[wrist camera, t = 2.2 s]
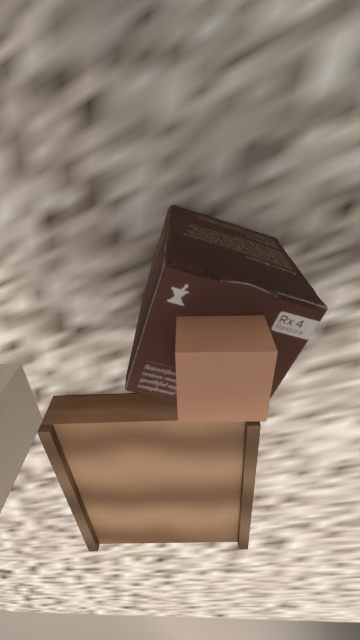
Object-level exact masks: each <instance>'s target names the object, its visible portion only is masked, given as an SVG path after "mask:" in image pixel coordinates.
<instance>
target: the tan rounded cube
mask: <svg viewBox="0 0 360 640" xmlns="http://www.w3.org/2000/svg"><path fill="white" fill-rule="evenodd" d="M277 354H278V351H277V348H276V345H275V343H274V340H273V337H272V335H271V332H270V330H269V327H268V324H267V322H266V319H265V316H264V315H253V316H181V317H176V343H175V362H176V387H177V412H178V422H228V421H266V418H267V412H268V407H269V401H270V395H271V389H272V383H273V377H274V371H275V365H276V359H277Z"/></svg>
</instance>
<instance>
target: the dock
mask: <svg viewBox="0 0 360 640" xmlns="http://www.w3.org/2000/svg"><path fill="white" fill-rule="evenodd" d="M37 433H38V435H39V437H40V440H41V442H42V444H43V447H44V449H45V451H46V453H47V456H48V458H49V460H50V463H51V465H52V467H53V469H54V472H55V474H56V476H57V479H58V481H59V483H60V486H61V488H62V490H63V492H64V495H65V497H66V499H67V502H68V504H69V506H70V508H71V511H72V513H73V515H74V518H75V520H76V522H77V524H78V527H79V529H80V531H81V534H82V536H83V538H84V541H85V543H86V545H87V547H88V550H89V551H98V549H99V544H114V543H183V542H238V549H248V542H249V532H250V523H251V513H252V503H253V494H254V484H255V474H256V465H257V455H258V445H259V435H260V421H228V422H178V412H177V402H176V401H172V400H168V399H163V398H159V397H154V396H150V395H146V394H141V393H138V394H109V395H79V396H53V399H52V401H51V403H50V405H49V407H48V410H47V412H46V414H45V416H44V418H43V421H42V423H41V425H40V427H39V429H38V432H37Z"/></svg>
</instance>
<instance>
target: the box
mask: <svg viewBox="0 0 360 640" xmlns="http://www.w3.org/2000/svg"><path fill="white" fill-rule="evenodd" d="M326 311H327V306H326V305H325V304H324V303H323V302H322V301H321V300H320V298H319V297H318V296H317V294H316V293H315V291H314V290H313V288H312V287H311V286H310V284H309V283H308V282H307V280H306V279H305V278H304V276H303V275H302V273H301V272H300V271H299V269H298V268H297V267H296V265H295V264H294V262H293V261H292V260H291V258H290V257H289V256H288V255H287V253H286V252H285V250H284V249H283V248H282V246H281V245H280V243H279V242H278V240H277V239H275V238H273V237H269V236H266V235H263V234H260V233H257V232H254V231H251V230H248V229H245V228H242V227H239V226H236V225H232V224H230V223H227V222H223V221H220V220H217V219H214V218H211V217H207V216H205V215H202V214H198V213H195V212H192V211H189V210H186V209H183V208H179V207H176V206H171V207H170V208H169V210H168V213H167V216H166V219H165V223H164V226H163V229H162V232H161V236H160V239H159V243H158V246H157V249H156V253H155V256H154V260H153V263H152V267H151V270H150V274H149V277H148V281H147V285H146V288H145V292H144V296H143V300H142V304H141V309H140V314H139V319H138V323H137V328H136V333H135V338H134V343H133V347H132V352H131V357H130V361H129V366H128V371H127V375H126V384H125V389H126V390H128V391H133V392H137V393H141V394H146V395H150V396H154V397H159V398H163V399H168V400H172V401H176V402H177V387H176V362H175V343H176V317H181V316H253V315H264V316H265V319H266V322H267V324H268V327H269V330H270V332H271V335H272V337H273V340H274V343H275V345H276V348H277V351H278V354H277V359H276V365H275V371H274V377H273V383H272V389H271V395H270V398H271V397H272V395H273V394H274V392H275V391H276V389H277V388H278V386H279V384H280V383H281V381H282V380H283V378H284V377H285V375H286V373H287V372H288V370H289V369H290V367H291V366H292V364H293V363H294V361H295V360H296V358H297V356H298V355H299V354H300V352H301V350H302V349H303V347H304V346H305V344H306V343H307V341H308V340H309V339H310V337H311V336H312V334H313V332H314V331H315V329H316V327H317V326H318V324H319V322H320V321H321V319H322V317H323V316H324V314H325V312H326Z"/></svg>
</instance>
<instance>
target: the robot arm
mask: <svg viewBox="0 0 360 640" xmlns="http://www.w3.org/2000/svg"><path fill="white" fill-rule="evenodd" d="M42 421H43V418H42V416H41V413H40V411H39V408H38V406H37V403H36V401H35V398H34V396H33V393H32V390H31V388H30V385H29V383H28V380H27V378H26V375H25V373H24V370H23V367H22V365H21V363H15V364H0V512H1V510H2V508H3V506H4V504H5V502H6V499H7V497H8V495H9V493H10V491H11V488H12V486H13V484H14V482H15V480H16V478H17V475H18V473H19V471H20V469H21V467H22V464H23V462H24V460H25V458H26V456H27V453H28V451H29V449H30V447H31V445H32V443H33V440H34V438H35V436H36V434H37V432H38V429H39V427H40V425H41V423H42Z"/></svg>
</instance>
